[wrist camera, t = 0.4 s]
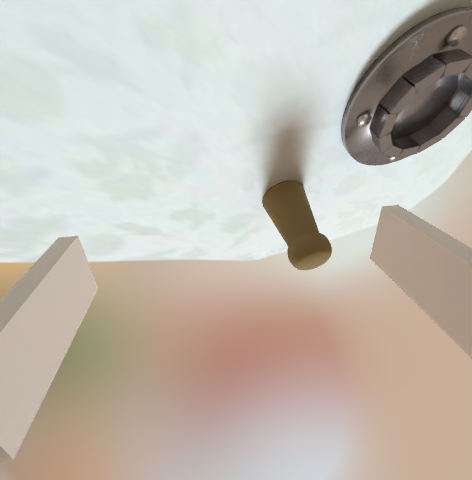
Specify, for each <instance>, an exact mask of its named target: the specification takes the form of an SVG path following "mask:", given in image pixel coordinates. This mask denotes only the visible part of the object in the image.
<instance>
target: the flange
mask: <svg viewBox="0 0 472 480" xmlns="http://www.w3.org/2000/svg"><path fill="white" fill-rule="evenodd" d="M471 110H472V8H466V7H465V8H456V9H452V10H448V11H444V12H442V13H439V14H437V15H435V16H432V17H430V18H428V19H427V20H425V21H423V22H421V23H419V24H418V25H416V26H415V27H413V28H412V29H410V30H409V31H407V32H406V33H405V34H404V35H402V36H401V37H400V38H399V39H397V40H396V41H395V42H394V43H393V44H392V45H390V46H389V47H388V48H387V49H386V50H385V51H384V52H383V53H382V54H381V55H380V56H379V57H378V59H377V60H376V61H375V62H374V63H373V64H372V65H371V67H370V68H369V69H368V70H367V72H366V73H365V74H364V76H363V77H362V79H361V80H360V82H359V83H358V85H357V86H356V88H355V90H354V92H353V93H352V95H351V97H350V100H349V102H348V104H347V106H346V109H345V112H344V115H343V120H342V127H341V136H342V141H343V144H344V146H345V148H346V150H347V151H348V152H349V154H350V155H351V156H352V157H353V158H354V159H355V160H356V161H358V162H360V163H362V164H366V165H383V164H388V163H392V162H395V161H398V160H401V159H403V158H406V157H408V156H410V155H413V154H417V153H419V152H421V151H423V150H425V149H426V148H428V147H430V146H431V145H433V144H435V143H437V142H438V141H440V140H442V138H444V137H445V136H446V135H448V134H449V133H450V132H451V131H452V130H453V129H454V128H455V127H456V126H458V125H459V124H460V123H461V122H462V121H463V120H464V119H465V117H467V116H468V114H469V113H470V111H471Z"/></svg>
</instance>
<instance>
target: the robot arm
mask: <svg viewBox="0 0 472 480" xmlns="http://www.w3.org/2000/svg"><path fill="white" fill-rule="evenodd" d="M370 258H371V259H372V260H373V261H374V262H375V263H376V264H377V265H378V266H379V267H380V268H381V269H382V270H383V271H384V272H385V273H386V274H387V275H388V276H389V277H390V278H391V279H392V280H393V281H394V282H395V283H396V284H397V285H398V286H399V287H400V288H401V289H402V290H403V291H404V292H405V293H406V294H407V295H408V296H409V297H410V298H411V299H412V300H413V301H414V302H415V303H416V304H417V305H418V306H419V307H420V308H421V309H422V310H423V311H424V312H425V313H426V314H427V315H428V316H429V317H430V318H431V319H432V320H433V321H434V322H435V323H436V324H437V325H438V326H439V327H440V328H441V329H442V330H443V331H444V332H446V334H447V335H448V336H450V338H451V339H452V340H454V342H456V344H457V345H458V346H460V347H461V348H462V349H463V350H464V351H465V352H466V353H467V354H468V355H469V356H470V357H471V358H472V248H470V247H469V246H467V245H465V244H463V243H462V242H460V241H458V240H457V239H454V238H453V237H451V236H450V235H448V234H446V233H445V232H443V231H441V230H440V229H438V228H436V227H435V226H433V225H431V224H429V223H428V222H426V221H424V220H423V219H421V218H419V217H418V216H416V215H414V214H412V213H411V212H409V211H407V210H406V209H404V208H402V207H400V206H399V205H394V206H384V207H382V209H381V213H380V217H379V222H378V226H377V231H376V235H375V239H374V243H373V248H372V252H371V256H370ZM97 290H98V287H97V285H96V282H95V279H94V277H93V274H92V271H91V269H90V266H89V263H88V261H87V258H86V256H85V253H84V250H83V248H82V245H81V242H80V240H79V237H78V236H72V237H62V238H58V239H57V240H56V241H55V242H54V243H53V244H52V245H51V246H50V247H49V249H48V250H47V251H46V252H45V253H44V254H43V255H42V256H41V257H40V258H39V259H38V260H37V262H36V263H35V264H34V265H33V266H32V267H31V268H30V269H29V270H28V271H27V272H26V273H25V275H24V276H23V277H22V278H21V279H20V280H19V281H18V282H17V283H16V284H15V286H13V287H12V289H11V290H10V291H9V292H8V293H7V294H6V295H5V296H4V298H2V299H1V300H0V462H1V461H8V460H13V459H14V457H15V455H16V453H17V451H18V449H19V447H20V445H21V443H22V441H23V439H24V437H25V435H26V433H27V431H28V429H29V427H30V425H31V423H32V421H33V419H34V417H35V415H36V413H37V411H38V409H39V407H40V405H41V403H42V401H43V399H44V397H45V395H46V393H47V391H48V388H49V386H50V385H51V383H52V381H53V379H54V376H55V375H56V373H57V370H58V369H59V366H60V364H61V362H62V360H63V358H64V356H65V354H66V352H67V350H68V348H69V346H70V344H71V342H72V340H73V338H74V336H75V333H76V332H77V330H78V328H79V326H80V324H81V322H82V320H83V318H84V316H85V314H86V312H87V310H88V308H89V306H90V304H91V301H92V300H93V298H94V296H95V294H96V291H97Z"/></svg>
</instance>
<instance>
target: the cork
mask: <svg viewBox="0 0 472 480" xmlns="http://www.w3.org/2000/svg"><path fill="white" fill-rule="evenodd" d="M262 203H263V207H264V208H265V210H266V211H267V213H268V215H269V216H270V218H271V219H272V221H273V223H274V224H275V226H276V227H277V229H278V231H279V232H280V234H281V235H282V237H283V239H284V240H285V242H286V243H287V245H288V258H289V260H290V262H291V263H292V265H293V266H294V267H296V268H297V269H299V270H310V269H314V268H317V267H318V266H321V265H322V264H324V263H325V262H326V261H327V260H328V259H329V258H330V256H331V253H332V248H331V244H330V242H329V240H328V239H327V238H326V237H325V236H324V235H323V234H321V233H319V231H318V228H317V225H316V222H315V219H314V216H313V214H312V211H311V208H310V205H309V202H308V199H307V197H306V194H305V191H304V188H303V186H302V184H300V183H299V182H297V181H284V182H281V183H279V184H277V185H275V186H273V187H272V188H271V189H270V190H268V191H267V193H266V194H265V196H264V197H263V201H262Z"/></svg>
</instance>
